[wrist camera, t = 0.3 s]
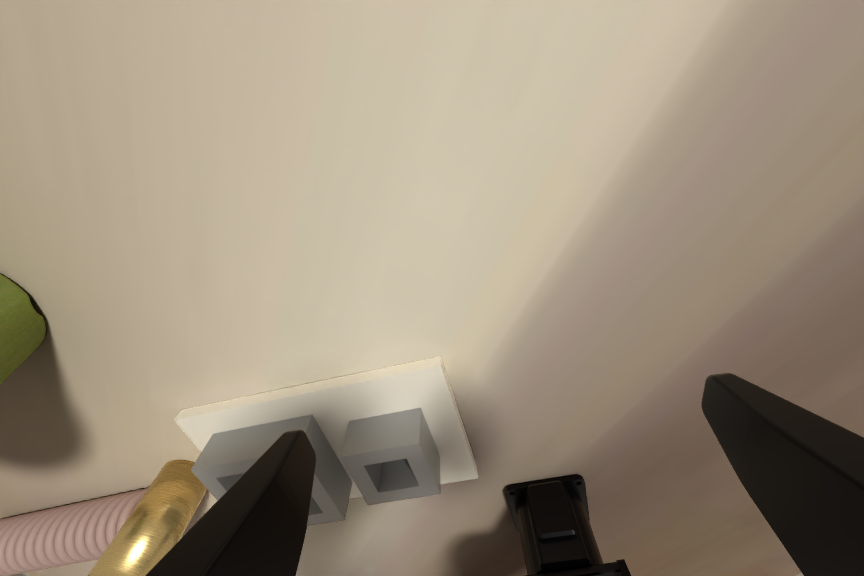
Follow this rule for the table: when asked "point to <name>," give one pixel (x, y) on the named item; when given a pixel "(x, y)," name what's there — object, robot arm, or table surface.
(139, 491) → the coil
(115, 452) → the table surface
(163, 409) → the table surface
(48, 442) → the table surface
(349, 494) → the fitting board
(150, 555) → the cylinder
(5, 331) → the plant pot
